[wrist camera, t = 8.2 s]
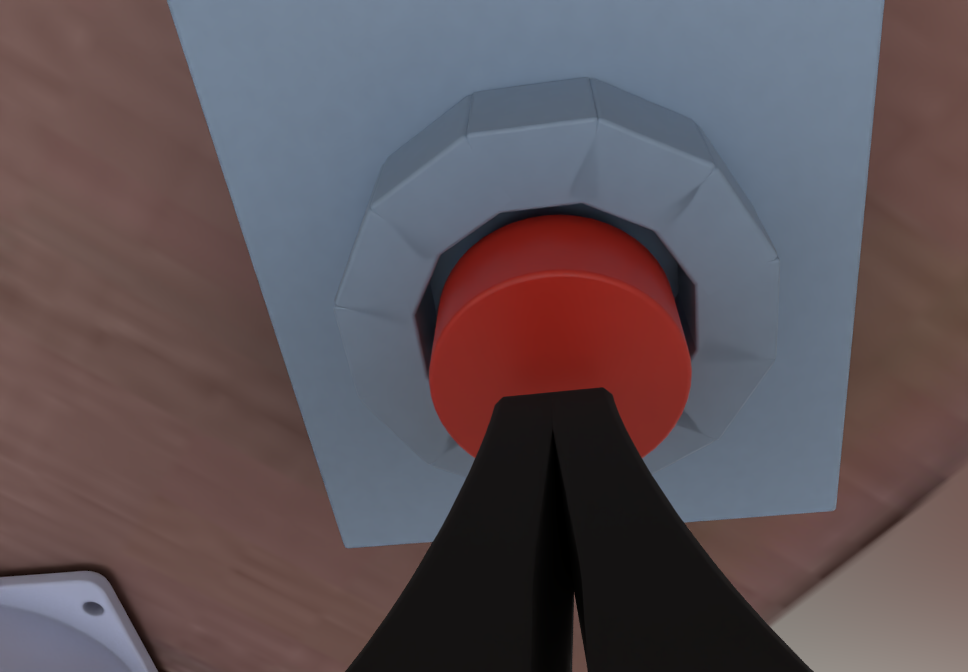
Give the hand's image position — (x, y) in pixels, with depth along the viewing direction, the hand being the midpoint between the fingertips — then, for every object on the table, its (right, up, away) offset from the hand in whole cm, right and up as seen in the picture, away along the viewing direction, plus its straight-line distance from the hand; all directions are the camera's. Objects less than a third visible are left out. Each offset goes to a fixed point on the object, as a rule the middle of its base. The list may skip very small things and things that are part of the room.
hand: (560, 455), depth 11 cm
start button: (0, +2, +3) cm, 3 cm away
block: (0, +4, +6) cm, 7 cm away
